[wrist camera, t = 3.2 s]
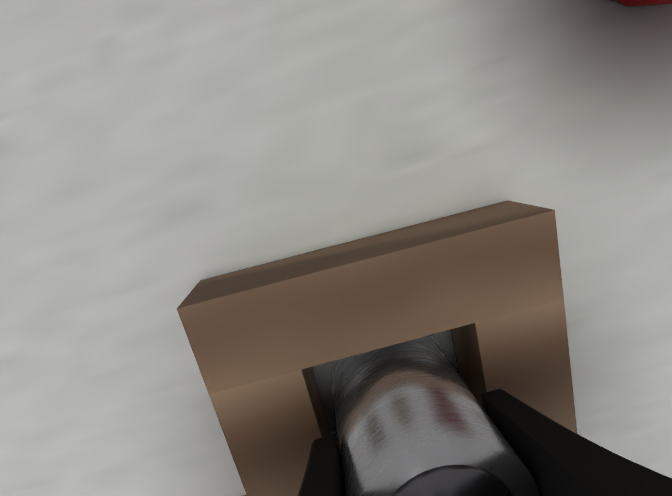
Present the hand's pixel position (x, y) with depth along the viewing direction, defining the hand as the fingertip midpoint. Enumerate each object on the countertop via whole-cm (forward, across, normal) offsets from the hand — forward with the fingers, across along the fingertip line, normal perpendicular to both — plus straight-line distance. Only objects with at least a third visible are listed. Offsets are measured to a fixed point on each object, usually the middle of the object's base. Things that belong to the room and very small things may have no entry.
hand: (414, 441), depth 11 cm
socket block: (+3, 0, 0) cm, 3 cm away
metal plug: (+3, 0, 0) cm, 3 cm away
